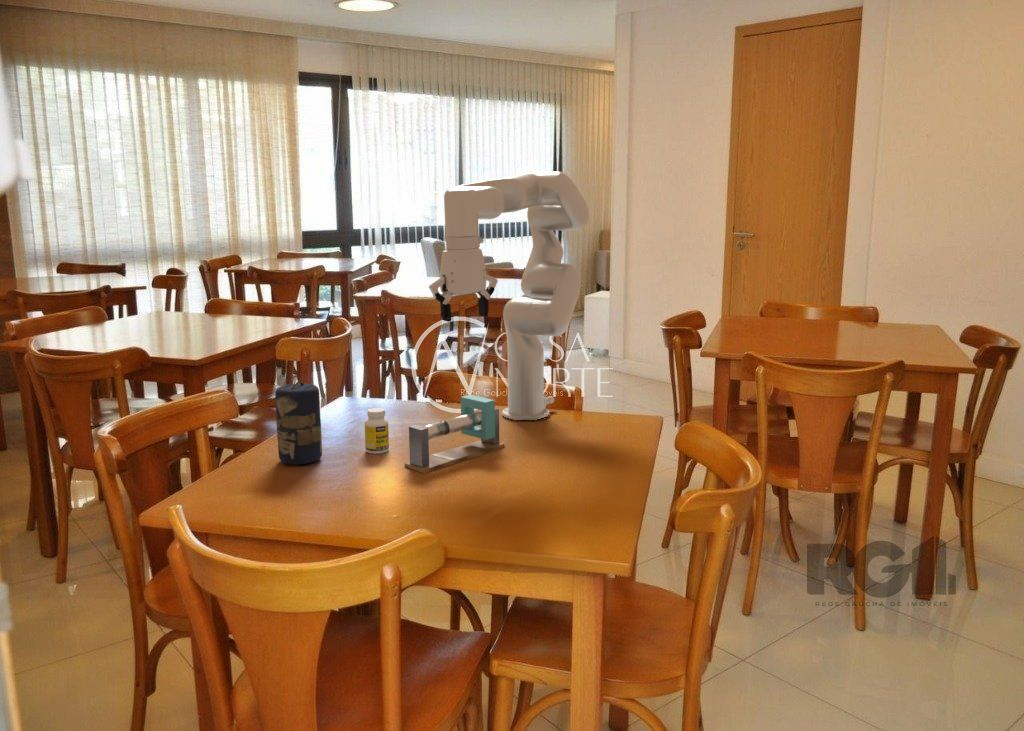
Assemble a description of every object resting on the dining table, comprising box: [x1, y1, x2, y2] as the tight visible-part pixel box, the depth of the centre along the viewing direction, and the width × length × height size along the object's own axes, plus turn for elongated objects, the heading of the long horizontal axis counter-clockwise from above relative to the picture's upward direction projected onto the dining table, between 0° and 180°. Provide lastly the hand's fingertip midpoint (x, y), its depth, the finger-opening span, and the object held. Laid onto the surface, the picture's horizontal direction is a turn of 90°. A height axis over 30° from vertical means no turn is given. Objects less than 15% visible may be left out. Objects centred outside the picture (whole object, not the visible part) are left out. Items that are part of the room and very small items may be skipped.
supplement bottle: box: [364, 407, 390, 455], centre depth 195 cm, size 5×5×10 cm
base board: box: [404, 439, 506, 474], centre depth 191 cm, size 25×6×1 cm, turn 137°
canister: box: [274, 381, 323, 465], centre depth 187 cm, size 10×10×18 cm
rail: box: [408, 407, 500, 468], centre depth 190 cm, size 24×4×9 cm, turn 137°
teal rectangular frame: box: [460, 394, 496, 440], centre depth 195 cm, size 3×8×9 cm, turn 47°
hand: (465, 318), depth 196 cm, fingers open, 9 cm apart
